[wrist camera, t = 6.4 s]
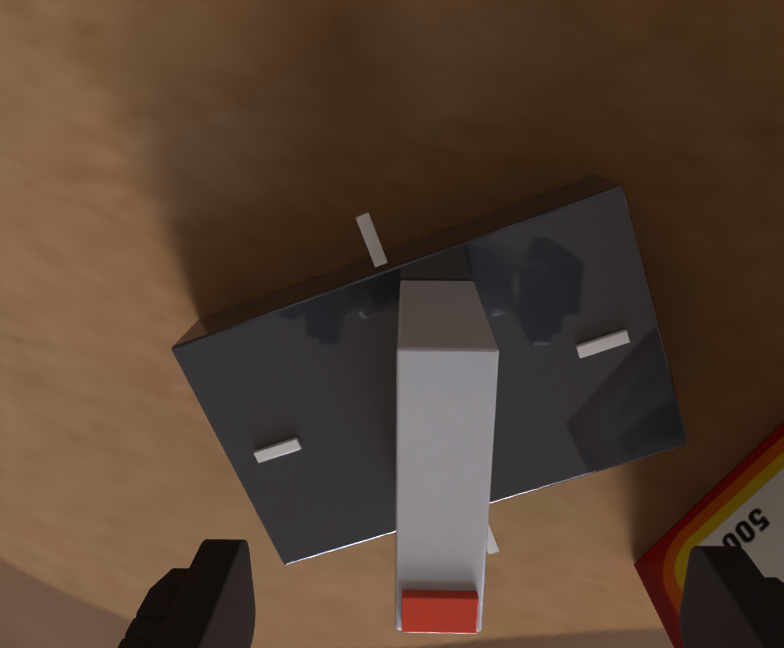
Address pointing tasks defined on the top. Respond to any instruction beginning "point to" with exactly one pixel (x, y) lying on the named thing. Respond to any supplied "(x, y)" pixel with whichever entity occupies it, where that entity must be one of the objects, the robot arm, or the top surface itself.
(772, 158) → the top surface
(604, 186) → the rotary selector switch
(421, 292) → the white rectangular block
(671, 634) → the baking soda box
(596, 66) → the top surface
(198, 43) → the top surface
